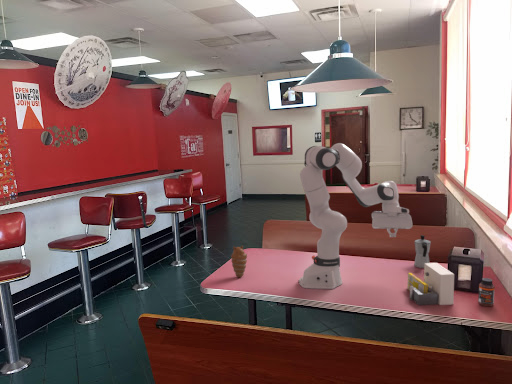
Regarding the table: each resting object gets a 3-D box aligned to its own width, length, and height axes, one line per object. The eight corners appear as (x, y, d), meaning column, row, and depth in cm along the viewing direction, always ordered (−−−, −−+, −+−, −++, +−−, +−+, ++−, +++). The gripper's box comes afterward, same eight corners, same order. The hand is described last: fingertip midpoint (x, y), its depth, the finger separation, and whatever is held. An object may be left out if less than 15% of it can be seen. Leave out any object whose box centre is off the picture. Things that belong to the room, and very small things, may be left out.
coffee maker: (411, 262, 232) (412, 232, 229) (427, 262, 230) (428, 232, 228) (416, 270, 217) (417, 239, 215) (433, 270, 216) (434, 239, 213)
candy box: (427, 301, 177) (428, 284, 176) (423, 302, 177) (423, 284, 176) (411, 288, 193) (411, 272, 192) (406, 288, 193) (407, 272, 192)
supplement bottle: (479, 305, 171) (480, 281, 169) (477, 300, 176) (478, 276, 175) (495, 307, 169) (496, 282, 167) (492, 301, 174) (493, 277, 173)
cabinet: (438, 305, 173) (438, 274, 171) (422, 291, 189) (422, 263, 187) (453, 304, 173) (454, 274, 171) (436, 290, 189) (436, 262, 187)
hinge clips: (415, 305, 174) (416, 292, 173) (408, 297, 182) (408, 285, 181) (439, 304, 174) (440, 291, 173) (430, 296, 182) (431, 284, 182)
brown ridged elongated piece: (233, 280, 214) (231, 248, 211) (231, 275, 221) (229, 245, 219) (248, 278, 215) (247, 247, 213) (246, 274, 223) (244, 243, 220)
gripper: (372, 209, 206) (373, 235, 201) (412, 209, 204) (414, 235, 200) (370, 212, 212) (371, 237, 207) (408, 212, 210) (411, 238, 206)
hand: (392, 236), depth 203 cm, fingers closed
